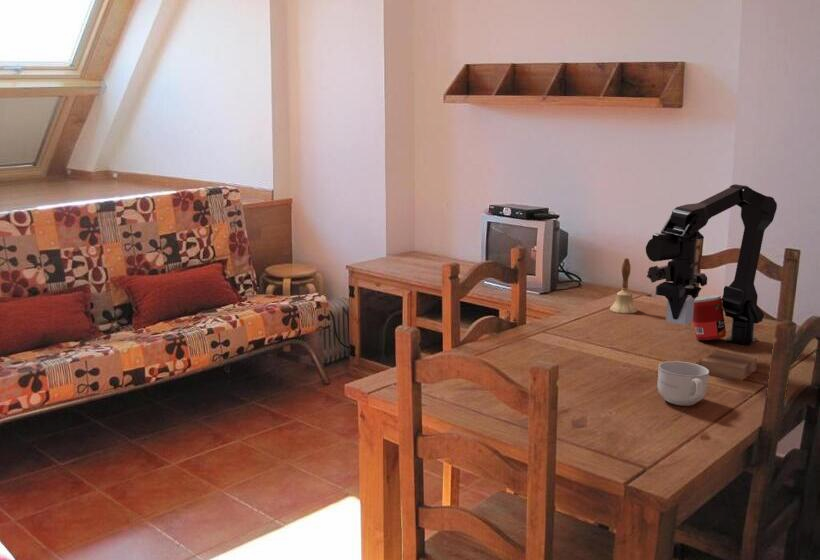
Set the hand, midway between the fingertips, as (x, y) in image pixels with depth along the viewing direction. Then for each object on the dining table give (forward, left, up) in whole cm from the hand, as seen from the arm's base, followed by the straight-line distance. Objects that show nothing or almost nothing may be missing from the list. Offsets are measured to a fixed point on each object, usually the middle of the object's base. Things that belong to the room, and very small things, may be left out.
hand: (679, 316), depth 232 cm
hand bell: (-30, -30, -10) cm, 44 cm away
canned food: (-16, +3, -9) cm, 19 cm away
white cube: (0, 0, -1) cm, 1 cm away
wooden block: (+5, +15, -10) cm, 19 cm away
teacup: (+32, +15, -10) cm, 37 cm away
